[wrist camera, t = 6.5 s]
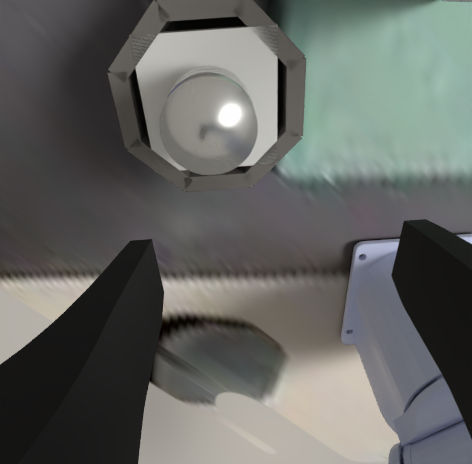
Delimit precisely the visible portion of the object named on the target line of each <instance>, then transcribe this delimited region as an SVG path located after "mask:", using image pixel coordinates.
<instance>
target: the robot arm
mask: <svg viewBox="0 0 472 464" xmlns="http://www.w3.org/2000/svg"><path fill="white" fill-rule="evenodd" d="M361 254H364V255H363V256H361V257H359V255H361ZM163 299H164V290H163V286H162V281H161V277H160V273H159V268H158V264H157V260H156V255H155V251H154V247H153V242H152V239H148V240H134V241H130V242H129V243H128V244H127V245H126V246H125V247H124V249H123V250H122V251H121V252H120V253H119V254H118V255H117V257H116V258H115V259H114V260H113V261H112V262H111V263H110V265H109V266H108V267H107V268H106V269H105V270H104V271H103V273H102V274H101V275H100V276H99V277H98V278H97V279H96V280H95V281H94V282H93V283H92V285H91V286H90V287H89V288H88V289H87V290H86V291H85V292H84V293H83V294H82V295H81V296H80V297H79V298H78V299H77V300H76V301H75V302H74V303H73V304H72V305H71V306H70V307H69V308H68V309H67V310H66V311H65V312H64V313H63V314H62V315H61V316H60V317H59V318H58V319H56V320H55V321H54V322H53V323H52V324H51V325H50V326H49V327H48V328H46V329H45V330H44V331H43V332H42V333H40V334H39V335H38V336H37V337H36V338H34V339H33V340H32V341H31V342H30V343H28V344H27V345H26V346H25V347H23V348H22V349H21V350H19V351H18V352H17V353H15V354H14V355H13V356H11V357H10V358H9V359H7V360H6V361H5V362H3V363H2V364H1V365H0V464H138V459H139V448H140V439H141V430H142V420H143V412H144V406H145V400H146V395H147V390H148V385H149V380H150V376H151V371H152V366H153V362H154V357H155V352H156V348H157V343H158V338H159V333H160V328H161V323H162V312H163ZM341 341H342V343H343V344H345V345H351V344H355V345H356V347H357V350H358V353H359V355H360V358H361V361H362V363H363V366H364V369H365V371H366V374H367V377H368V379H369V382H370V385H371V387H372V390H373V393H374V396H375V398H376V401H377V404H378V406H379V409H380V411H381V413H382V415H383V417H384V419H385V421H386V422H387V424H388V425H389V426H390V427H391V428H392V430H393V431H394V432H395V433H396V434H397V435H398V437H399V440H400V443H398V444H396V445H394V446H393V447H392V448H391V450H390V453H389V464H472V234H461V235H455V234H453V233H451V232H449V231H448V230H446V229H444V228H442V227H440V226H438V225H436V224H434V223H432V222H430V221H428V220H426V219H424V220H410V221H404V223H403V228H402V232H401V236H400V239H389V240H374V241H362V242H359V243H357V244H356V245H355V246H354V250H353V257H352V264H351V270H350V277H349V284H348V290H347V297H346V304H345V311H344V317H343V324H342V331H341Z"/></svg>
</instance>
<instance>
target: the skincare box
mask: <svg viewBox="0 0 472 464" xmlns="http://www.w3.org/2000/svg"><path fill="white" fill-rule="evenodd" d="M442 1H454V2H472V0H442Z"/></svg>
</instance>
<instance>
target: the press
mask: <svg viewBox="0 0 472 464" xmlns="http://www.w3.org/2000/svg"><path fill="white" fill-rule="evenodd" d="M200 66H217V67H221V68H224V69H226V70H229V71H230V72H232V73H234V74H235V75H236V76H237V77H239V78H240V79H241V80H242V82H243V83H244V84H245V86H246V87H247V89H248V91H249V93H250V95H251V98H252V102H253V106H254V109H255V113H256V117H257V123H258V133H257V139H256V142H255V145H254V148H253V150H252V152H251V153H250V155H249V156H248V157H247V159H246V160H245V161H244V162H243V163H242V164H240V165H239V166H238V167H236V168H235V169H233V170H231V171H228V172H226V173H222V174H218V175H202V174H197V173H194V172H191V171H189V170H187V169H185V168H183V167H182V166H180V165H179V164H177V163H176V162H175V161H174V160H173V159H172V158H171V157H170V155H169V154H168V153H167V151H166V149H165V147H164V146H163V143H162V140H161V137H160V132H159V119H160V114H161V110H162V107H163V105H164V103H165V101H166V99H167V96H168V94H169V92H170V90H171V88H172V86H173V85H174V83H175V82H176V81H177V79H178V78H179V77H180V76H182V75H183V74H184V73H186V72H187V71H189V70H191V69H193V68H196V67H200ZM108 70H109V72H108V77H109V82H110V86H111V90H112V94H113V98H114V103H115V107H116V111H117V115H118V120H119V124H120V128H121V132H122V136H123V141H124V145H125V148H128V150H127V151H128V152H130V153H131V154H132V155H134V156H135V157H137V158H138V159H139V160H141V161H142V162H143V163H145V164H146V165H148V166H149V167H150V168H152V169H153V170H155V171H156V172H157V173H159V174H160V175H161V176H163V177H164V178H166V179H167V180H168V181H170V182H171V183H173V184H174V185H175V186H177V187H178V188H180V189H181V190H182V191H184V190H185V189H186V192H194V191H208V190H223V189H237V188H251V185H252V186H255V185H256V184H257V183H258V182H259V181H260V180H261V179H262V178H263V177H264V176H265V175H266V174H267V173H268V172H269V171H270V170H271V169H272V168H273V167H274V166H275V165H276V164H277V163H278V162H279V161H280V160H281V159H282V158H283V157H284V156H285V155H286V154H287V153H288V152H289V151H290V150H291V149H292V148H293V147H294V146H295V145H296V144H297V143H298V142H299V141H300V140H301V139H302V138H301V136H303V121H304V98H305V74H306V58H305V55H304V54H303V53H302V52H301V51H300V50H299V49H298V48H297V47H296V46H295V44H294V43H293V42H292V41H291V40H290V39H289V38H288V37H287V36H286V35H285V34H284V33H283V32H282V31H281V29H280V28H279V27H278V25H277V24H275V23H274V22H273V21H272V20H271V19H270V18H269V17H268V16H267V14H266V13H265V12H264V11H263V10H262V9H261V8H260V7H259V6H258V5H257V4H256V3H255V2H254V1H253V0H153V1H152V3H151V4H150V6H149V8H148V9H147V11H146V12H145V14H144V15H143V17H142V18H141V20H140V21H139V23H138V24H137V26H136V27H135V29H134V31H133V32H132V34H131V35H129V38H128V40H127V41H126V43H125V44H124V46H123V47H122V49H121V50H120V52H119V54H118V55H117V57H116V58H115V60H114V61H113V63H112V64H111V66H110V67H109V69H108Z"/></svg>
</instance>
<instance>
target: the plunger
mask: <svg viewBox="0 0 472 464" xmlns="http://www.w3.org/2000/svg"><path fill="white" fill-rule="evenodd" d="M159 132H160V137H161V140H162V143H163V146H164V147H165V149H166V151H167V153H168V154H169V155H170V157H171V158H172V159H173V160H174V161H175V162H176V163H177V164H179V165H180V166H182V167H183V168H185V169H187V170H189V171H191V172H194V173H197V174H202V175H218V174H222V173H226V172H228V171H231V170H233V169H235V168H236V167H238V166H239V165H240V164H242V163H243V162H244V161H245V160H246V159H247V157H248V156H249V155H250V153H251V152H252V150H253V148H254V145H255V142H256V139H257V133H258V123H257V117H256V113H255V109H254V106H253V102H252V98H251V95H250V93H249V91H248V89H247V87H246V86H245V84H244V83H243V82H242V80H241V79H240V78H239V77H237V76H236V75H235V74H234V73H232V72H230V71H229V70H226V69H224V68H221V67H217V66H200V67H196V68H193V69H191V70H189V71H187V72H186V73H184V74H183V75H182V76H180V77H179V78H178V79H177V81H176V82H175V83H174V85H173V86H172V88H171V90H170V92H169V94H168V96H167V99H166V101H165V103H164V105H163V107H162V110H161V114H160V119H159Z"/></svg>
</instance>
